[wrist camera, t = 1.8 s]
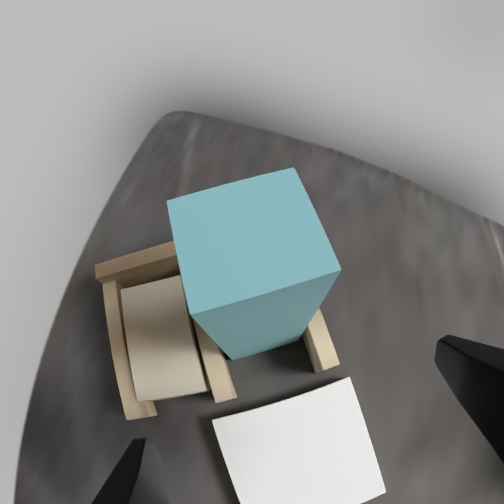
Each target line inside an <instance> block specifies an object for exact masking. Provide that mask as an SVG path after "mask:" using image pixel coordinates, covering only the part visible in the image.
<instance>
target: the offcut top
mask: <svg viewBox="0 0 504 504" xmlns="http://www.w3.org/2000/svg"><path fill="white" fill-rule="evenodd" d="M121 299H122V309H123V317H124V325H125V333H126V340H127V347H128V353H129V359H130V365H131V371H132V377H133V382H134V387H135V392H136V397H137V402H148V401H156V400H162V399H169V398H175V397H180V396H186V395H191V394H197V393H202V392H207V391H210V389H209V385H208V381H207V377H206V373H205V368H204V364H203V360H202V355H201V351H200V346H199V342H198V338H197V334H196V330H195V326H194V322H193V318H192V316H191V315H190V312H189V308H188V303H187V299H186V295H185V290H184V286H183V281H182V277H181V276H180V275H179V276H175V277H171V278H167V279H163V280H159V281H154V282H150V283H146V284H142V285H138V286H134V287H130V288H126V289H121Z"/></svg>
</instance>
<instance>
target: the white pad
mask: <svg viewBox="0 0 504 504" xmlns="http://www.w3.org/2000/svg"><path fill="white" fill-rule="evenodd" d="M212 423H213V426H214V429H215V432H216V435H217V438H218V442H219V445H220V448H221V451H222V454H223V457H224V460H225V463H226V465H227V468H228V471H229V474H230V477H231V480H232V482H233V485H234V488H235V491H236V493H237V496H238V499H239V501H240V504H361V503H363V502H366V501H368V500H370V499H372V498H375V497H377V496H379V495H381V494H383V493H385V492H386V490H385V486H384V483H383V479H382V476H381V473H380V469H379V466H378V463H377V459H376V456H375V453H374V449H373V446H372V443H371V440H370V437H369V434H368V430H367V427H366V424H365V421H364V418H363V415H362V412H361V409H360V406H359V403H358V400H357V397H356V394H355V391H354V388H353V385H352V382H351V379H350V377H347V378H344V379H341V380H339V381H336V382H333V383H331V384H328V385H325V386H323V387H320V388H317V389H314V390H312V391H309V392H306V393H303V394H300V395H297V396H294V397H291V398H288V399H285V400H282V401H278V402H275V403H272V404H269V405H265V406H262V407H258V408H255V409H251V410H248V411H244V412H240V413H236V414H232V415H228V416H224V417H220V418H216V419H213V420H212Z"/></svg>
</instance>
